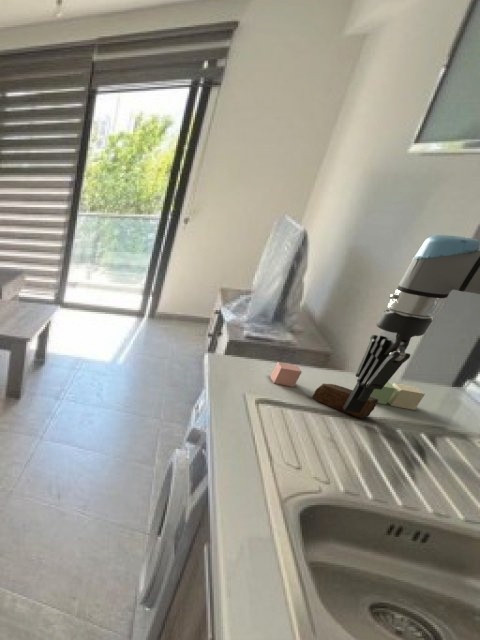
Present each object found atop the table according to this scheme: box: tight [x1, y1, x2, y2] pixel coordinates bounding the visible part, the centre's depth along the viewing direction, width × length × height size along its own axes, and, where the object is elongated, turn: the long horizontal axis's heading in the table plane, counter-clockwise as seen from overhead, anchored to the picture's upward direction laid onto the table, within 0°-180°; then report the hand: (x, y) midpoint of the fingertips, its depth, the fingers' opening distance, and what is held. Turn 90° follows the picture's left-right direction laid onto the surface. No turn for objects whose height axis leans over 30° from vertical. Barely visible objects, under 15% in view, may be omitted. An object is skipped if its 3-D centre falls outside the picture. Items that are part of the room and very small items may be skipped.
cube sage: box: [370, 381, 395, 405], centre depth 122 cm, size 4×4×4 cm
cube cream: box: [387, 382, 426, 411], centre depth 120 cm, size 4×4×4 cm
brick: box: [312, 383, 378, 419], centre depth 116 cm, size 11×4×5 cm, turn 22°
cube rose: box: [270, 362, 303, 388], centre depth 129 cm, size 4×4×4 cm
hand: (351, 410), depth 112 cm, fingers closed
